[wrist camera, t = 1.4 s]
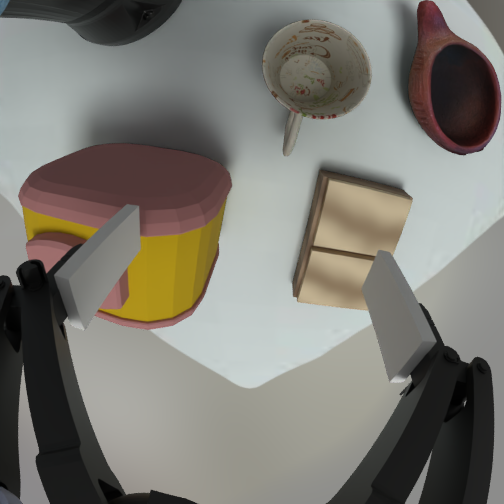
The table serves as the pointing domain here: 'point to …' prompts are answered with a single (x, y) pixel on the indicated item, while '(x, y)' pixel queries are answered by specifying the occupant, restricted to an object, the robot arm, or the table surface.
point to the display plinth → (346, 238)
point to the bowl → (452, 86)
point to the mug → (315, 73)
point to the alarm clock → (151, 223)
